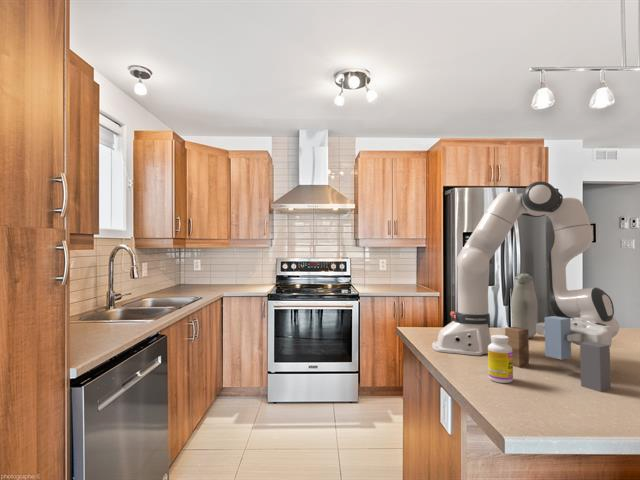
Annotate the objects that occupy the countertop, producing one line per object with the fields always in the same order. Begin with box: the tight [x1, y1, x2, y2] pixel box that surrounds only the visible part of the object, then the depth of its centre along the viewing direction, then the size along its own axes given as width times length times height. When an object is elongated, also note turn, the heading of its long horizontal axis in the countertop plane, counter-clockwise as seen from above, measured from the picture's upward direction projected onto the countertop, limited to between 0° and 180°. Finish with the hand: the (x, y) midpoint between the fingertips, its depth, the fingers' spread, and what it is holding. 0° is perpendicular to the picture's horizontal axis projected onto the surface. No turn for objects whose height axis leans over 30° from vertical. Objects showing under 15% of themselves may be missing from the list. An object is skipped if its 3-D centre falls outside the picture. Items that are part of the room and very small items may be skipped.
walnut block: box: [504, 326, 530, 369], centre depth 128 cm, size 5×5×12 cm
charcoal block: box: [579, 341, 612, 393], centre depth 107 cm, size 5×5×12 cm
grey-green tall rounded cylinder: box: [510, 273, 539, 339], centre depth 167 cm, size 10×10×28 cm
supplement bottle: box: [487, 334, 514, 384], centre depth 113 cm, size 7×7×13 cm
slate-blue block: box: [543, 315, 572, 361], centre depth 119 cm, size 5×5×12 cm
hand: (555, 335), depth 119 cm, fingers closed on slate-blue block, 5 cm apart
